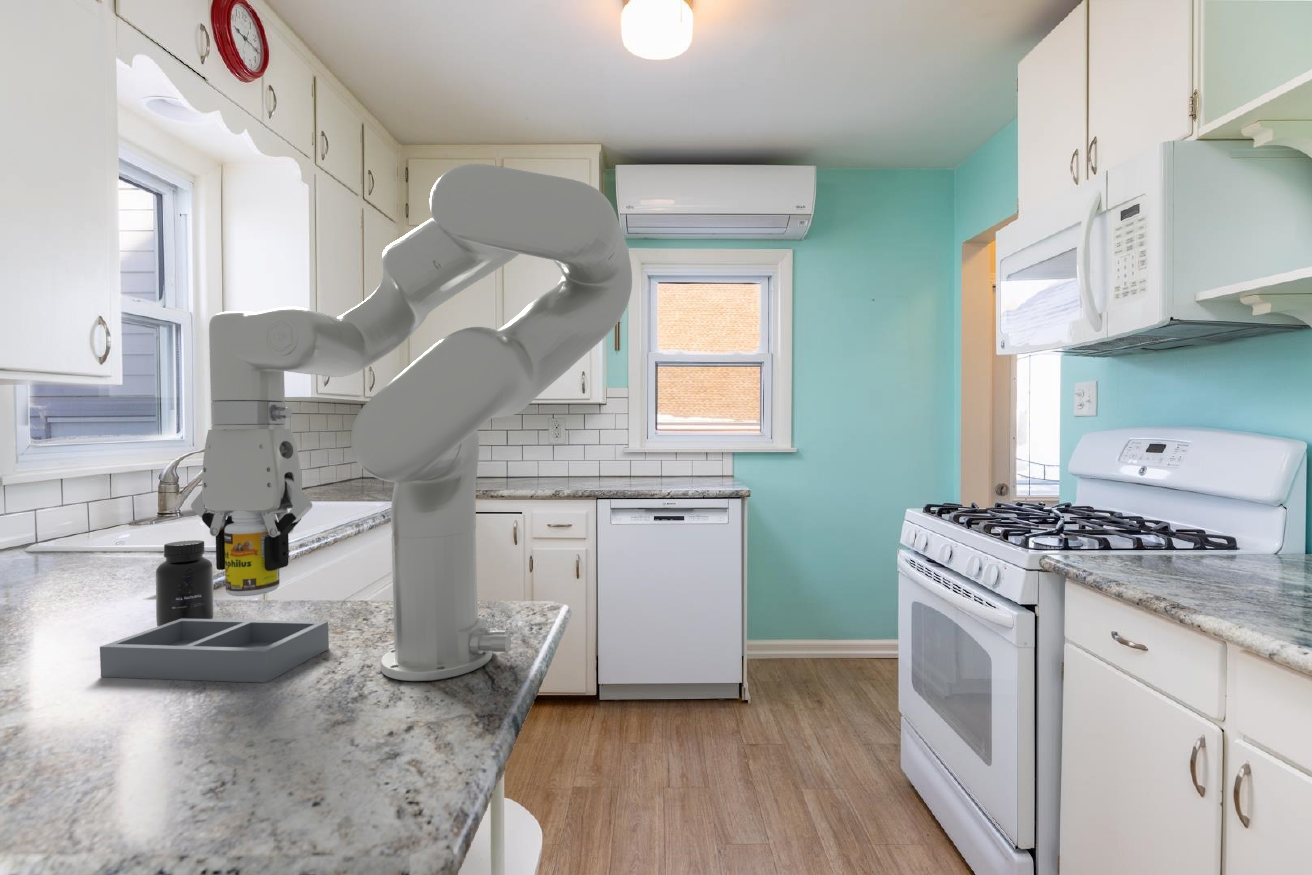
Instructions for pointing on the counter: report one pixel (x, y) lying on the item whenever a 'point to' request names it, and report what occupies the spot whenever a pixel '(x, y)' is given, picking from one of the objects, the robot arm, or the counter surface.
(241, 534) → the supplement bottle
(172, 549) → the supplement bottle
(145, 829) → the counter surface
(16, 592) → the counter surface
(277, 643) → the divided tray
